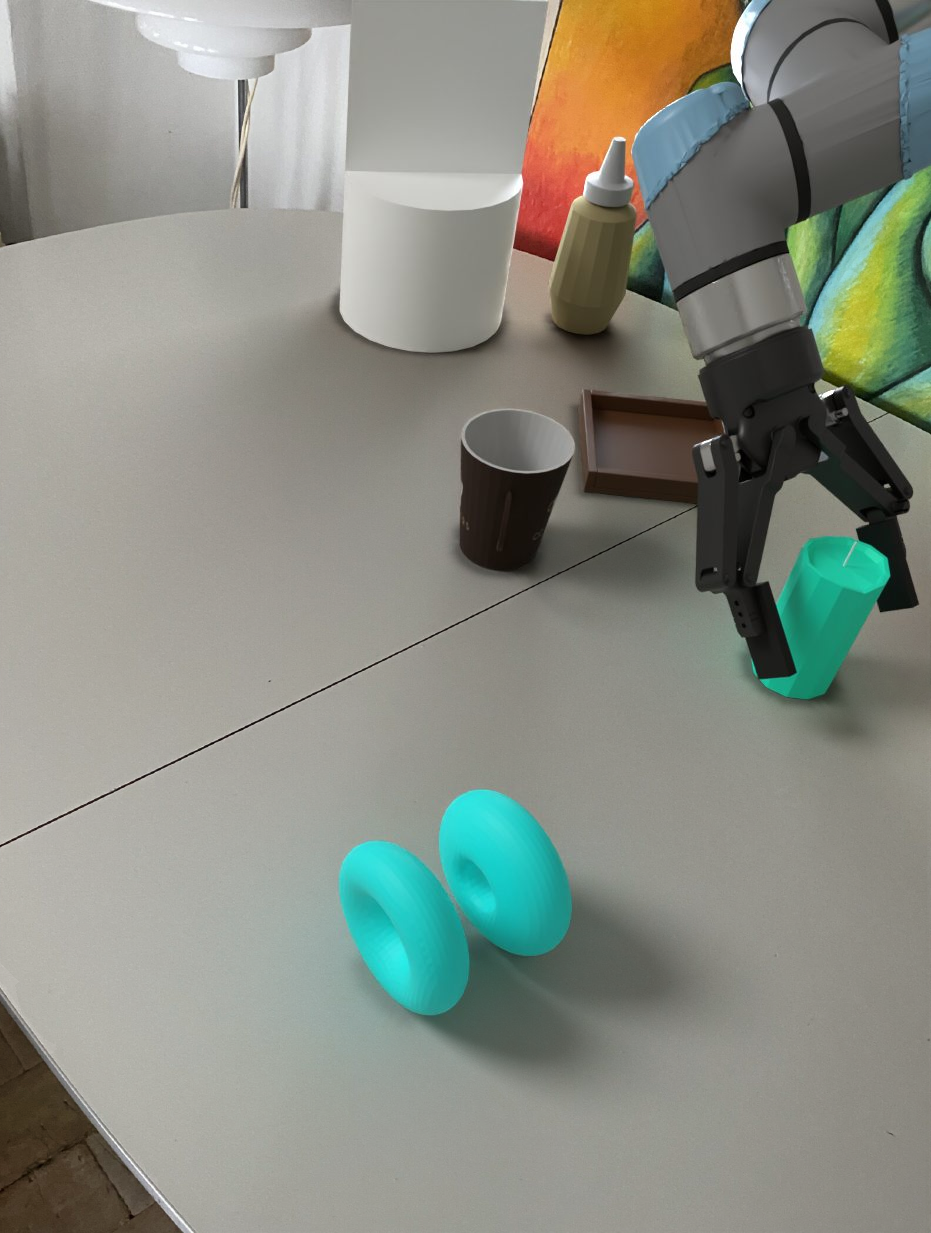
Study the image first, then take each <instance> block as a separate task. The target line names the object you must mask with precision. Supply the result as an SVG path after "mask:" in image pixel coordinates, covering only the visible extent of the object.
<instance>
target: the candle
mask: <svg viewBox="0 0 931 1233" xmlns="http://www.w3.org/2000/svg"><path fill="white" fill-rule="evenodd" d="M889 578H890V571H889V565H888V559H887V557H886V556H884V555H883V554H882V553H880V552H879V551H878V550H876V549H875V548H874V547H872V546H871V545H868V544H866V543H863V542H861V541H859V539H856V538H853V537H850V536H837V535H824V536H818V537H813V538H809V539H808V540H807V541H806V542H805V543H804V544H803V546H802V547H801V550H800V551H799V554H798V556H797V558H796V560H795V562H794V565H793V566H792V569H791V571H790V573H789V575H788V578H787V580H786V581H785V584H784V586H783V589H782V591H781V592H780V595H779V597H778V599H777V602H776V606H777V610H778V613H779V616H780V619H781V622H782V626H783V629H784V632H785V635H786V639H787V642H788V645H789V648H790V651H791V655H792V658H793V661H794V664H795V667H796V671H797V673H796V674H794V675H792V676H790V677H782V678H771V679H759V681H760V682H761V683H762V684H763V685H764V686H765V687H766V688H767V689H769V690H771V691H772V692H773V691H774V692H775V693H777V694H779V695H782V696H784V697H786V698H791V699H792V698H793V699H801V700H811V699H814V698H817V697H821V696H822V695H825V694H826V692H827V691H828V689H829V688H830V686H831V684H832V682H833V681H834V679H835V677H836V675H837V673H838V672H839V671H840V669H841V666H842V665H843V662H844V661H845V660H846V657H847V656H848V654H849V652H850V650H851V648H852V646H853V645H854V643H855V642H856V639H857V637H858V636H859V633H860V631H861V630H862V628H863V626H864V625H865V622H866V621H867V619H868V618H869V615H870V614H871V612H872V610H873V608H874V606H875V605H876V604H877V599H878V598H879V596H880V594H881V592H882V590H883V588H884V587H885V585H886V583H887V581H888V579H889ZM750 661H751V666H752V672H753V675H755V677H756V679H758V677H757V674H756V670H755V667H754V664H753V661H752V658H751V657H750Z"/></svg>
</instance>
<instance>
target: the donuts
mask: <svg viewBox="0 0 931 1233" xmlns="http://www.w3.org/2000/svg"><path fill="white" fill-rule="evenodd" d="M438 850H439V852H438V853H439V858H440V862H441V867H442V871H443V874H444V877H445V880H446V883H447V886H448V888H449V890H450V892H451V895H452V896H453V898H454V899H455V902H456V903H457V905H458V907H459V908H460V910H461V912H462V913H463V914H464V915H465V916H466V919H468V921H469V922H470V924H472V925H473V927H474V928H475V929H476V930H477V931H478V932H479V933H480V934H481V935H482V936H483V937H484V938H486V939H487V940H488V941H489V942H490V943H492V944H493V945H495V946H496V947H498V948H499V949H502V950H504V951H506V952H508V953H510V954H513V955H518V956H522V957H523V956H524V957H535V956H540V955H543V954H544V955H545V954H546V953H548V952H550V951H552V950H554V949H555V948H556V947H557V946H558V945H559V944H560V943H561V942H562V941H563V940H564V938H565V936H566V934H567V932H568V930H569V928H570V925H571V919H572V912H573V901H572V900H573V899H572V898H573V897H572V890H571V886H570V881H569V878H568V875H567V871H566V868H565V866H564V863H563V861H562V859H561V857H560V855H559V852H558V850H557V848H556V846H555V845H554V842H552V839H551V838H550V837H549V835H548V833H547V832H546V830H545V829H544V828H543V827H542V825H541V824H540V823H539V822H538V820H537V819H536V818H535V817H534V816H533V814H531V812H529V811H528V810H527V809H526V808H525V807H524V806H523V805H522V804H520V803H519V802H517V801H516V800H515V799H513V798H512V797H510V796H508V795H506V794H504V793H501V792H499V791H496V790H494V789H493V790H491V789H485V788H484V789H483V788H478V789H473V790H469V791H466V792H464V793H462V794H460V795H458V796H457V797H456V798H454V799H453V800H452V801H451V803H450V804H449V805H448V807H447V808H446V810H445V812H444V814H443V816H442V819H441V822H440V826H439V834H438ZM338 893H339V900H340V905H341V909H342V913H343V916H344V919H345V922H346V925H347V928H348V931H349V933H350V935H351V938H352V940H353V942H354V945H355V946H356V949H357V950H358V952H359V954H360V956H361V958H362V960H363V961H364V963H365V964H366V966H367V968H368V969H369V971H370V972H371V974H372V975H373V976H374V978H375V980H376V981H377V982H378V984H379V985H380V986H381V987H382V988H383V989H384V991H386V992H387V994H388V995H389V996H390V997H391V998H392V999H393V1000H394V1001H396V1003H398V1004H399V1005H400V1006H402V1007H403V1008H404V1009H406V1010H409V1011H410V1012H412V1013H415V1014H418V1015H422V1016H437V1015H441V1014H444V1013H446V1012H448V1011H449V1010H450V1011H451V1009H452V1008H454V1007H455V1006H456V1005H457V1004H458V1003H459V1001H460V1000H461V998H462V997H463V995H464V993H465V991H466V988H467V985H468V982H469V977H470V976H469V975H470V953H469V947H468V940H467V937H466V934H465V930H464V927H463V923H462V921H461V918H460V916H459V914H458V912H457V909H456V907H455V905H454V903H453V901H452V899H451V897H450V896H449V894H448V892H447V890H446V889H445V887H444V886H443V884H442V883H441V882H440V880H439V879H438V878H437V876H436V875H435V874H434V873H433V872H432V870H431V869H430V868H429V867H428V866H427V865H426V864H425V863H424V862H423V861H422V860H421V859H419V858H418V857H417V856H416V855H415V854H414V853H413V852H411V851H409V850H408V849H406V848H404V847H402V846H401V845H399V844H396V843H393V842H390V841H386V840H369V841H364V842H362V843H360V844H358V845H356V846H354V847H353V848H352V849H351V850H350V851H349V852H348V853H347V854H346V856H345V858H344V859H343V861H342V864H341V867H340V870H339V875H338Z"/></svg>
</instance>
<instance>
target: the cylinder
mask: <svg viewBox="0 0 931 1233" xmlns="http://www.w3.org/2000/svg"><path fill="white" fill-rule="evenodd" d="M548 8H549V0H351V8H350V10H351V11H350V31H349V32H350V36H349V38H350V39H349V60H348V61H349V62H348V63H349V64H348V66H349V67H348V84H347V85H348V88H347V110H346V111H347V112H346V135H345V136H346V138H345V159H344V160H345V161H344V162H345V163H344V167H345V168H344V187H343V190H344V191H343V214H342V236H341V237H342V238H341V263H340V286H339V287H340V289H339V290H340V291H339V313H340V316H341V317H342V319H343V321H344V322H345V323H346V324H347V325H348V327H350V328H351V329H352V330H353V331H354V332H355V333H357V334H359V335H360V336H362V337H364V338H365V339H367V340H369V341H371V342H373V343H376V344H379V345H382V346H385V347H388V348H393V349H398V350H403V351H407V352H417V353H431V354H432V353H447V352H456V351H460V350H465V349H469V348H473V347H475V346H477V345H479V344H481V343H484V342H486V341H488V340H489V339H490V338H492V336H494V335H495V334H496V333H497V332H498V330H499V327H500V325H501V323H502V319H503V313H504V305H505V299H506V294H507V293H506V292H507V286H508V281H509V276H510V275H509V274H510V269H511V268H510V267H511V262H512V255H513V250H514V243H515V237H516V232H517V231H516V230H517V225H518V219H519V212H520V206H521V199H522V193H523V187H524V180H523V174H522V172H523V167H524V166H523V165H524V160H525V154H526V148H527V141H528V135H529V129H530V123H531V116H532V111H533V110H532V108H533V103H534V97H535V90H536V84H537V78H538V71H539V65H540V58H541V52H542V46H543V40H544V33H545V27H546V19H547V14H548Z"/></svg>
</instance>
